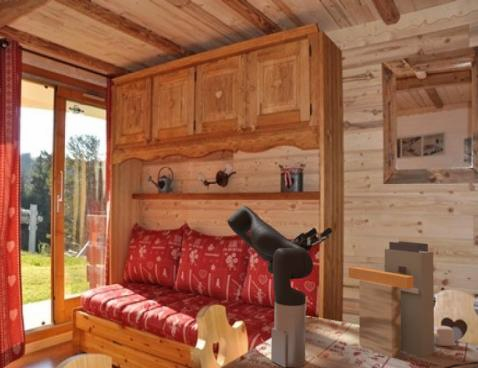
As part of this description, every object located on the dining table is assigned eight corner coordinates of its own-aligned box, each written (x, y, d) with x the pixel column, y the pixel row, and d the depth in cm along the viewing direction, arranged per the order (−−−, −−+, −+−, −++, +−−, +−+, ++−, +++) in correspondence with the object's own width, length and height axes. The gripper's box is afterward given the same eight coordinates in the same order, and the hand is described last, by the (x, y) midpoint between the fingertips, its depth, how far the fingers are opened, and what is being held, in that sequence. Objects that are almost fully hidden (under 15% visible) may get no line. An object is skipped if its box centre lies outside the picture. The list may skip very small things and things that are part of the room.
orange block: (407, 289, 117) (406, 277, 118) (348, 277, 135) (348, 267, 136) (413, 287, 119) (413, 276, 120) (355, 276, 137) (355, 266, 138)
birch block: (391, 357, 120) (391, 286, 121) (359, 345, 130) (359, 280, 131) (401, 353, 123) (400, 284, 124) (368, 342, 132) (368, 278, 134)
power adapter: (420, 345, 130) (420, 328, 131) (415, 340, 135) (415, 323, 136) (455, 347, 129) (455, 329, 129) (449, 342, 134) (449, 325, 134)
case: (421, 358, 119) (420, 245, 121) (384, 345, 130) (384, 241, 132) (434, 353, 124) (433, 244, 126) (397, 341, 134) (396, 240, 136)
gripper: (282, 239, 160) (307, 221, 149) (307, 238, 168) (332, 221, 157) (288, 256, 157) (314, 239, 146) (313, 254, 165) (339, 238, 154)
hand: (323, 230), depth 152 cm, fingers open, 8 cm apart
